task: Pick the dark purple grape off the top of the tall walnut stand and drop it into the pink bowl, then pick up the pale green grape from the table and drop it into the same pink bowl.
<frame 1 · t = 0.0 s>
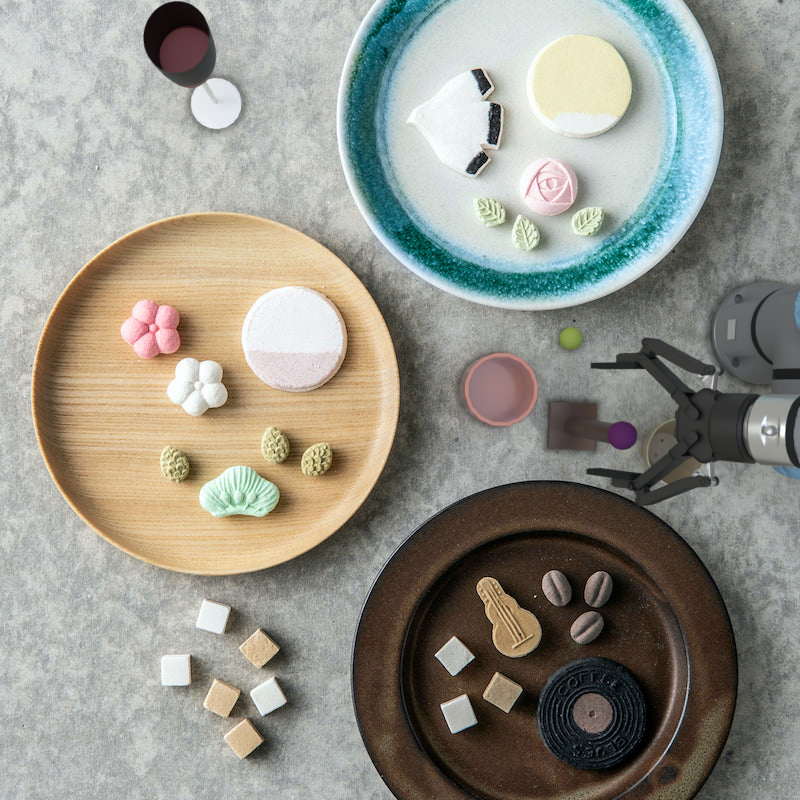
hand: (594, 418, 93), 15 cm above the table, tool tilted 35°, fingers open, 13 cm apart
green grape: (570, 338, 106), point 2 cm above the table
purple grape: (622, 435, 84), point 24 cm above the table, touching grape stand
wineglass: (216, 104, 107), on the table
flower pot: (662, 448, 108), on the table
pink bowl: (493, 389, 108), on the table
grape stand: (571, 425, 108), on the table
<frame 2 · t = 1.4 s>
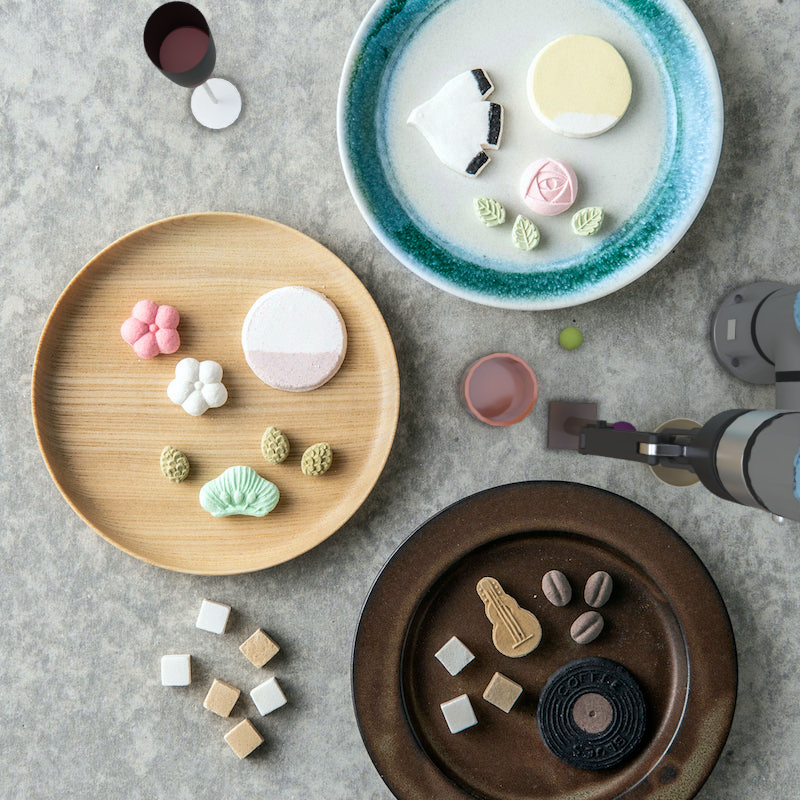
hand: (653, 440, 75), 33 cm above the table, tool pointing down, fingers open, 13 cm apart
nothing on the table moved.
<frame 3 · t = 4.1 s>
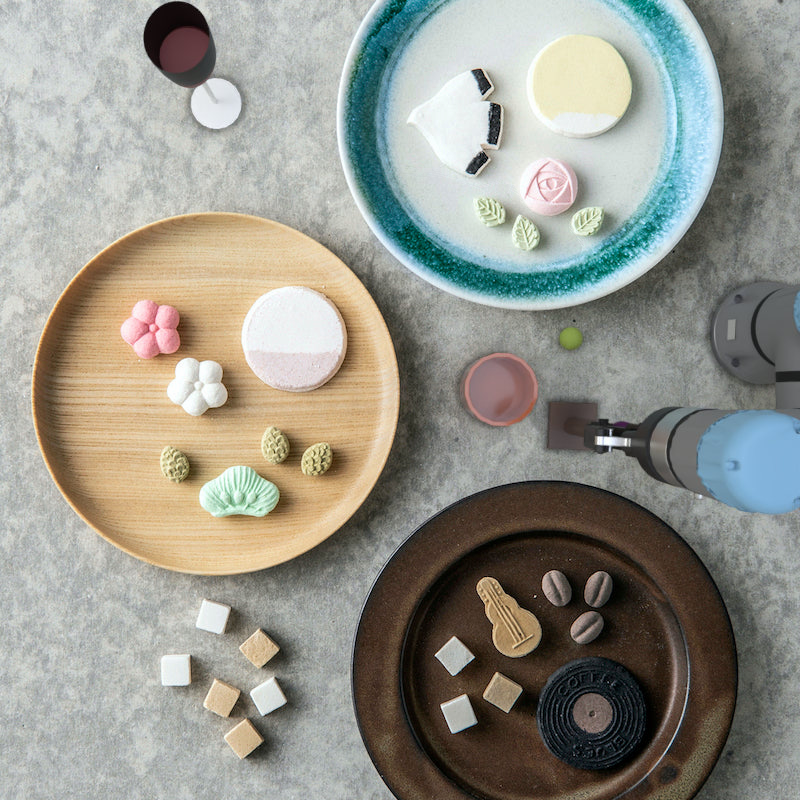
hand: (609, 433, 89), 19 cm above the table, tool pointing down, fingers closed on purple grape, 3 cm apart
purple grape: (622, 435, 84), point 24 cm above the table, touching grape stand, gripper
everything else where it was.
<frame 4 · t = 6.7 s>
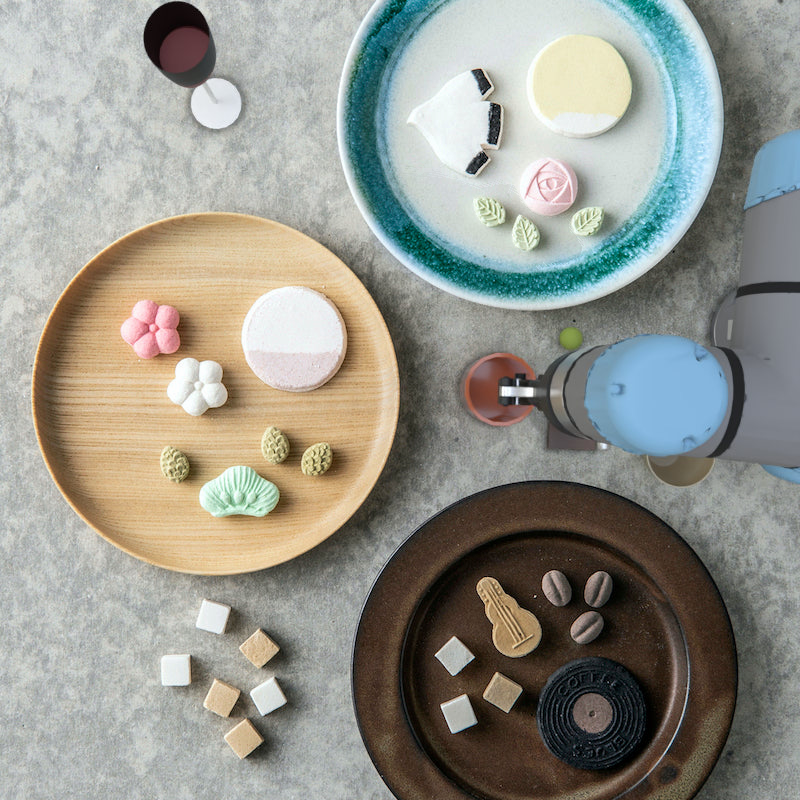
hand: (533, 392, 81), 27 cm above the table, tool pointing down, fingers closed on purple grape, 3 cm apart
purple grape: (543, 393, 76), point 32 cm above the table, touching gripper
everything else where it was.
when the fingers open (11 cm above the table, at t = 9.7 s): purple grape drops 13 cm, resting on pink bowl.
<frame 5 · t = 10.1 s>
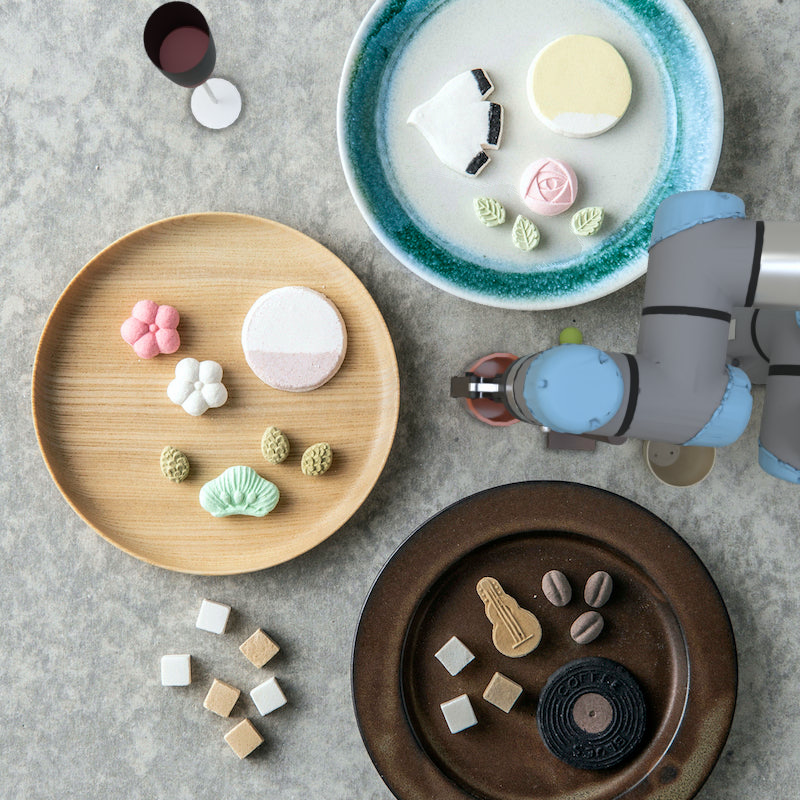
hand: (505, 389, 96), 11 cm above the table, tool pointing down, fingers open, 9 cm apart
purple grape: (495, 389, 105), point 2 cm above the table, touching pink bowl
everything else where it was.
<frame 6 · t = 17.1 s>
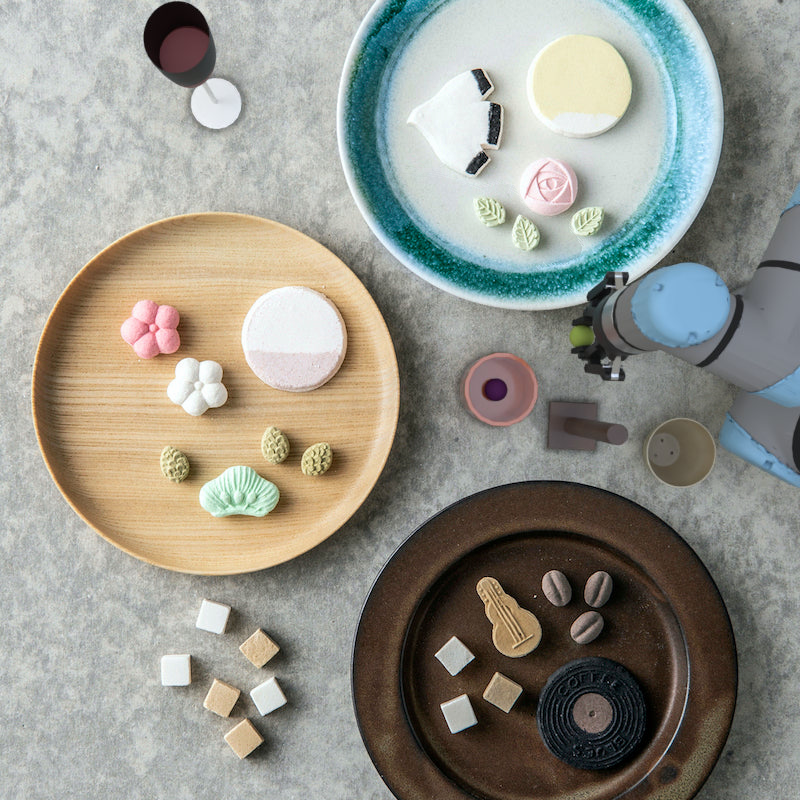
hand: (581, 337, 102), 6 cm above the table, tool pointing down, fingers closed on green grape, 3 cm apart
green grape: (581, 336, 101), point 7 cm above the table, touching gripper
everything else where it was.
when the fingers open (11 cm above the table, at t = 20.7 s): green grape drops 10 cm and tips over, resting on pink bowl.
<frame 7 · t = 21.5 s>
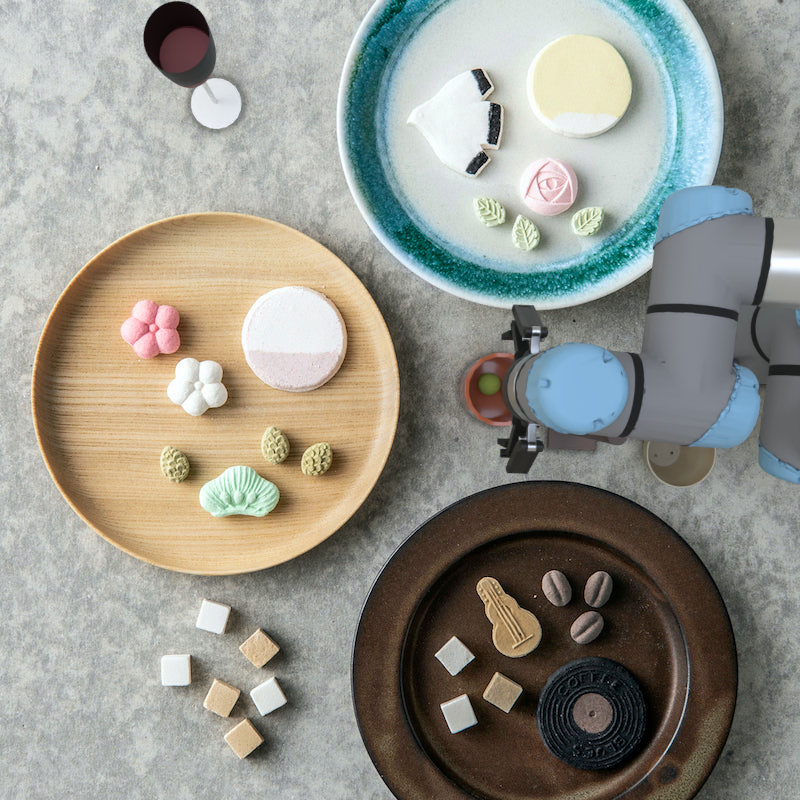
hand: (509, 389, 94), 14 cm above the table, tool pointing down, fingers open, 13 cm apart
green grape: (489, 384, 105), point 2 cm above the table, tilted 81°, touching pink bowl
purple grape: (513, 390, 105), point 2 cm above the table, tilted 91°, touching pink bowl
everything else where it was.
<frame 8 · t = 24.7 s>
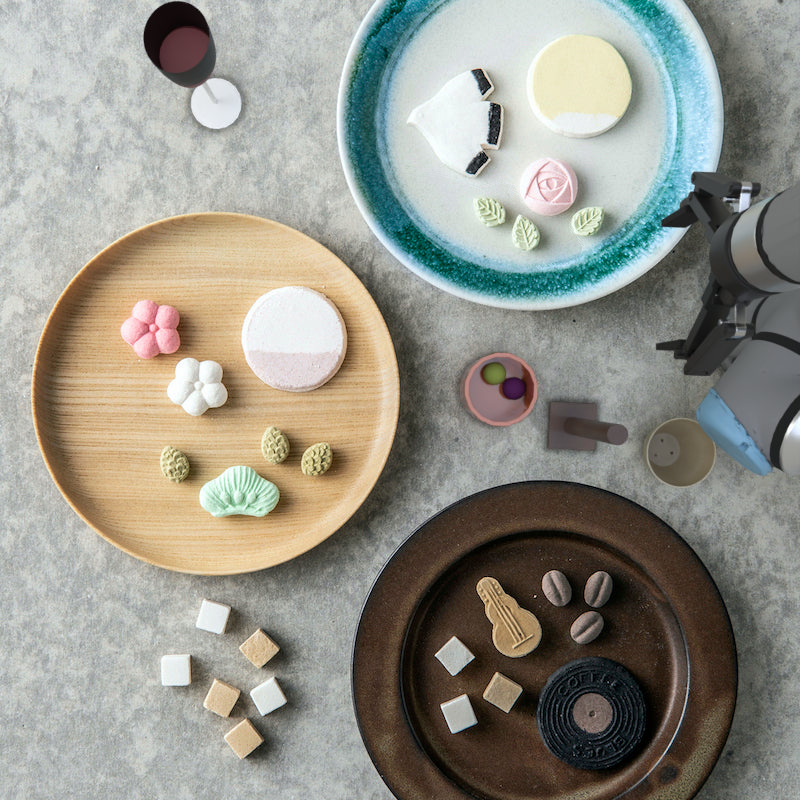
hand: (670, 285, 79), 29 cm above the table, tool pointing down, fingers open, 13 cm apart
green grape: (494, 373, 105), point 2 cm above the table, tilted 63°, touching pink bowl
everything else where it was.
at the end: purple grape inside the target area in the pink bowl (2.7 cm from its centre), point 2.2 cm above the pink bowl's base; green grape inside the target area in the pink bowl (2.3 cm from its centre), point 2.2 cm above the pink bowl's base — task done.
